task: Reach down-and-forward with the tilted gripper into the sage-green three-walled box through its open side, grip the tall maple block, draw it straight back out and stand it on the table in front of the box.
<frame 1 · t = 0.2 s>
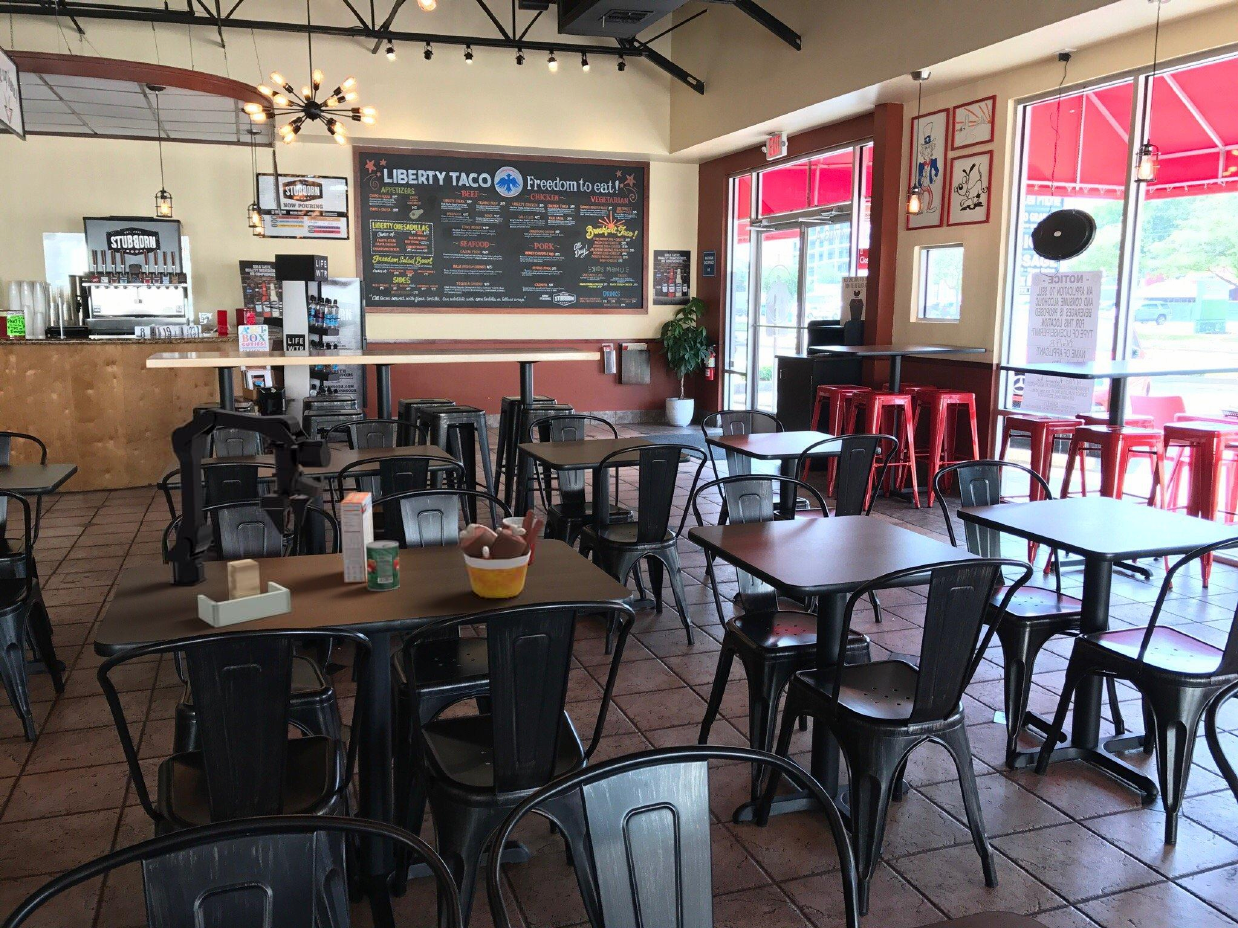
hand: (291, 530, 239), 14 cm above the table, tool pointing down, fingers open, 9 cm apart
maple block: (244, 588, 218), in the open-side box
plastic cup: (522, 563, 266), on the table
canned tomato: (383, 587, 242), on the table
open-side box: (245, 614, 219), on the table
cracker box: (359, 576, 252), on the table
bucket of meat: (500, 593, 237), on the table
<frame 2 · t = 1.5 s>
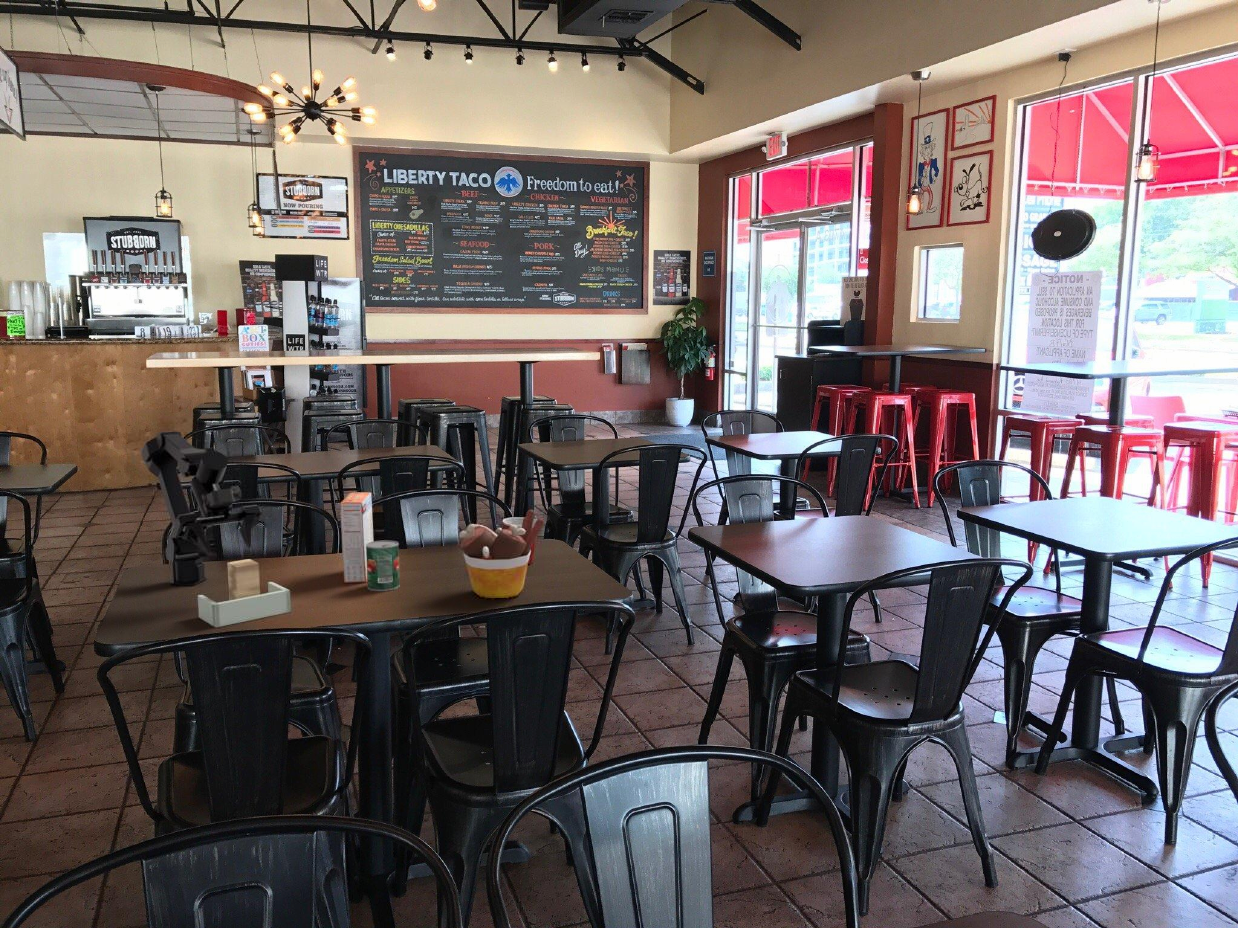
hand: (229, 550, 222), 13 cm above the table, tool tilted 45°, fingers open, 9 cm apart
nothing on the table moved.
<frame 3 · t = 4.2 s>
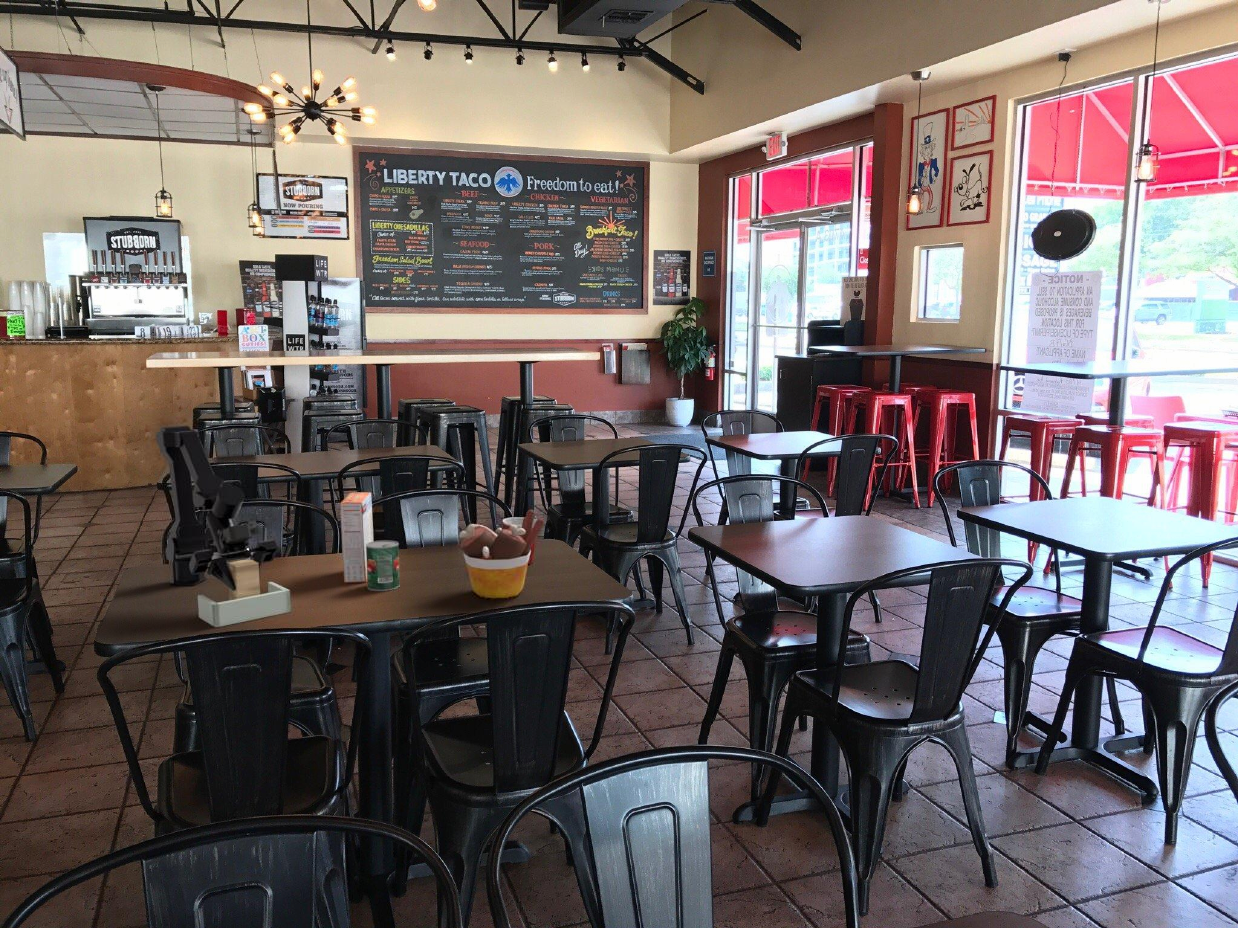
hand: (246, 587, 217), 7 cm above the table, tool tilted 45°, fingers closed on maple block, 5 cm apart
maple block: (244, 588, 218), in the open-side box, touching gripper
everything else where it was.
when the fingers open (8 cm above the table, at t = 8.0 s): maple block drops 1 cm, on the table.
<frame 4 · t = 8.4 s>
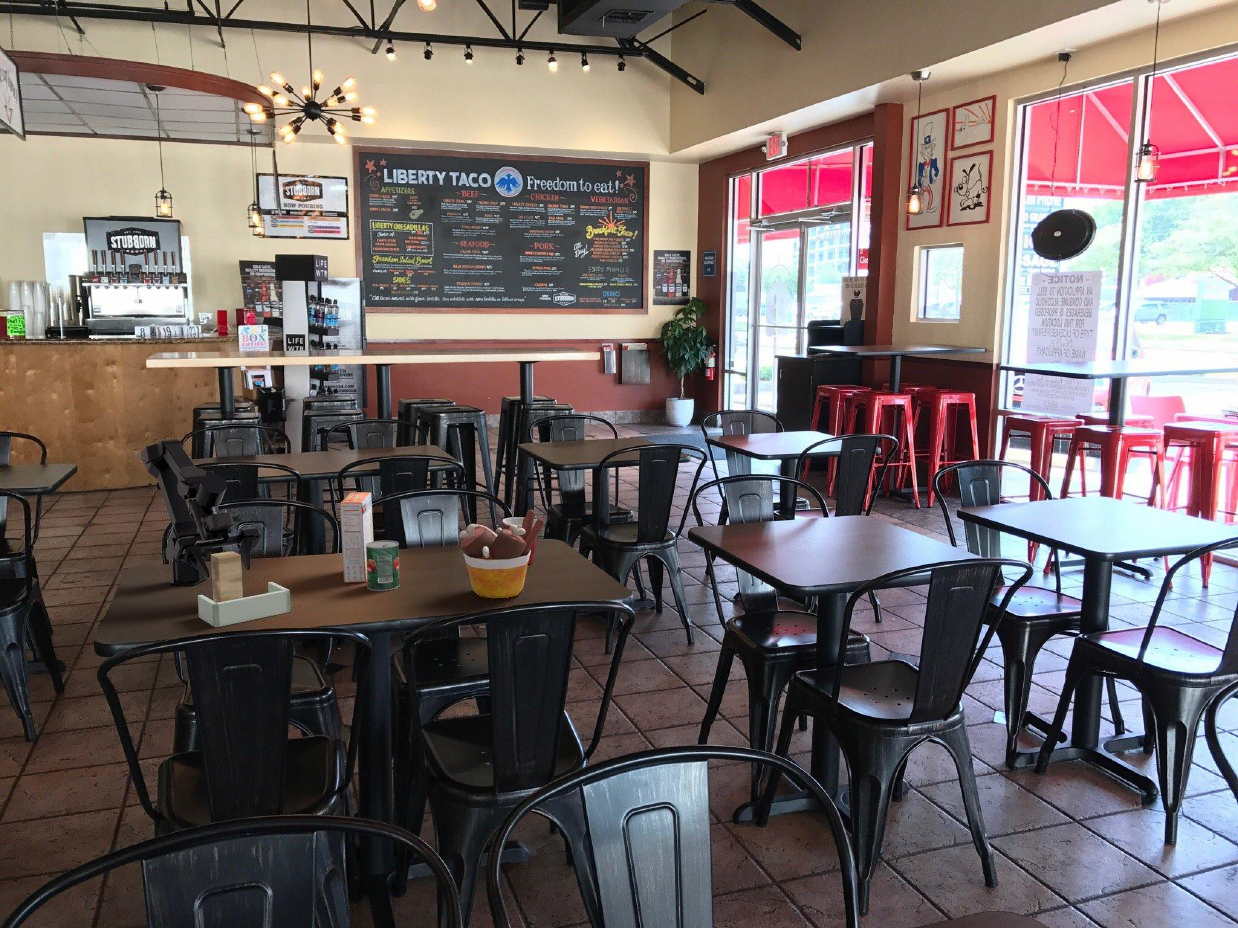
hand: (228, 573, 224), 8 cm above the table, tool tilted 45°, fingers open, 9 cm apart
maple block: (227, 579, 225), on the table
everything else where it was.
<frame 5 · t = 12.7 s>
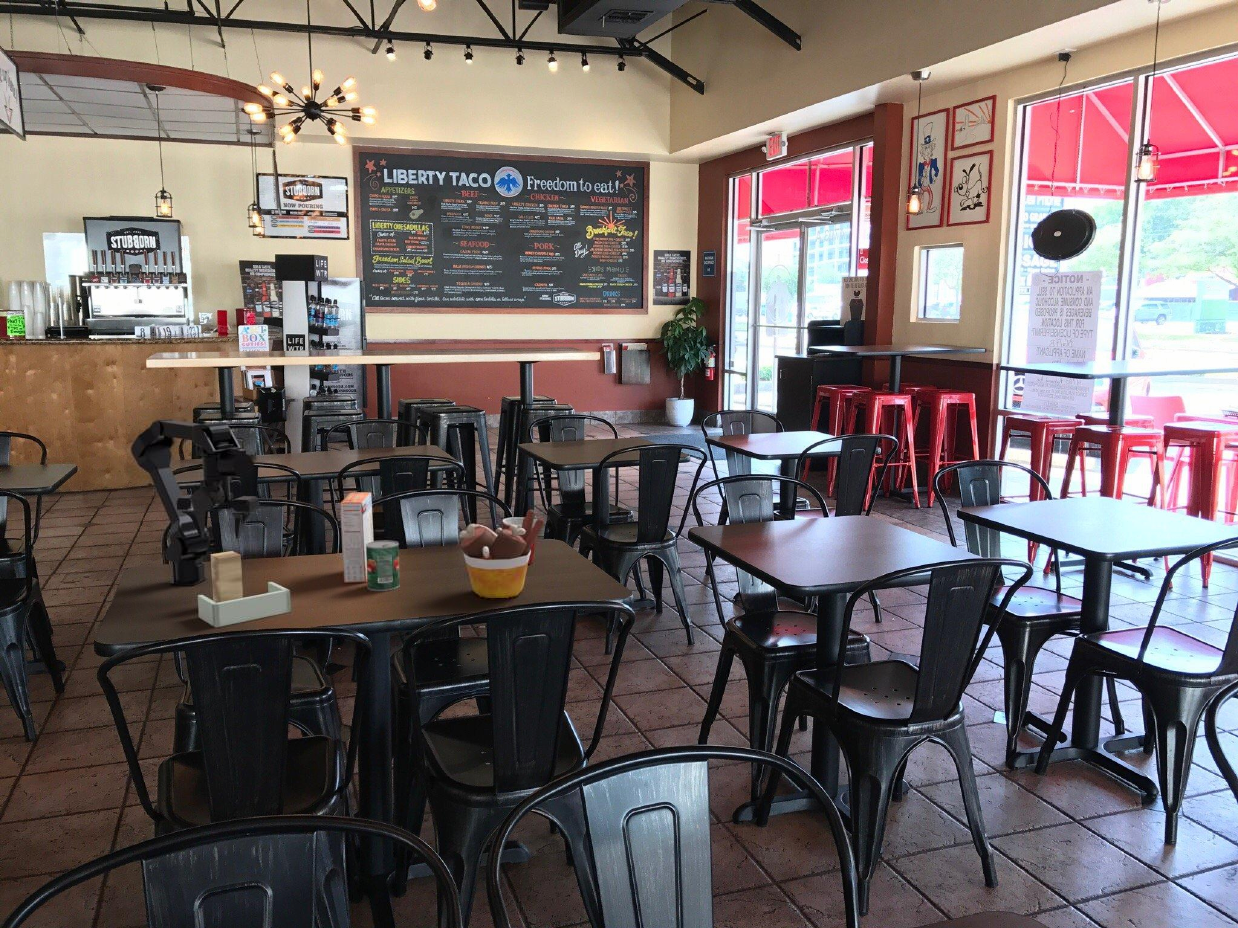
hand: (219, 537, 237), 13 cm above the table, tool pointing down, fingers open, 9 cm apart
nothing on the table moved.
at the end: maple block inside the target area on the table beside the open-side box (1.3 cm from its centre), on the table; maple block tilted 0°; the gripper is holding nothing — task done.
